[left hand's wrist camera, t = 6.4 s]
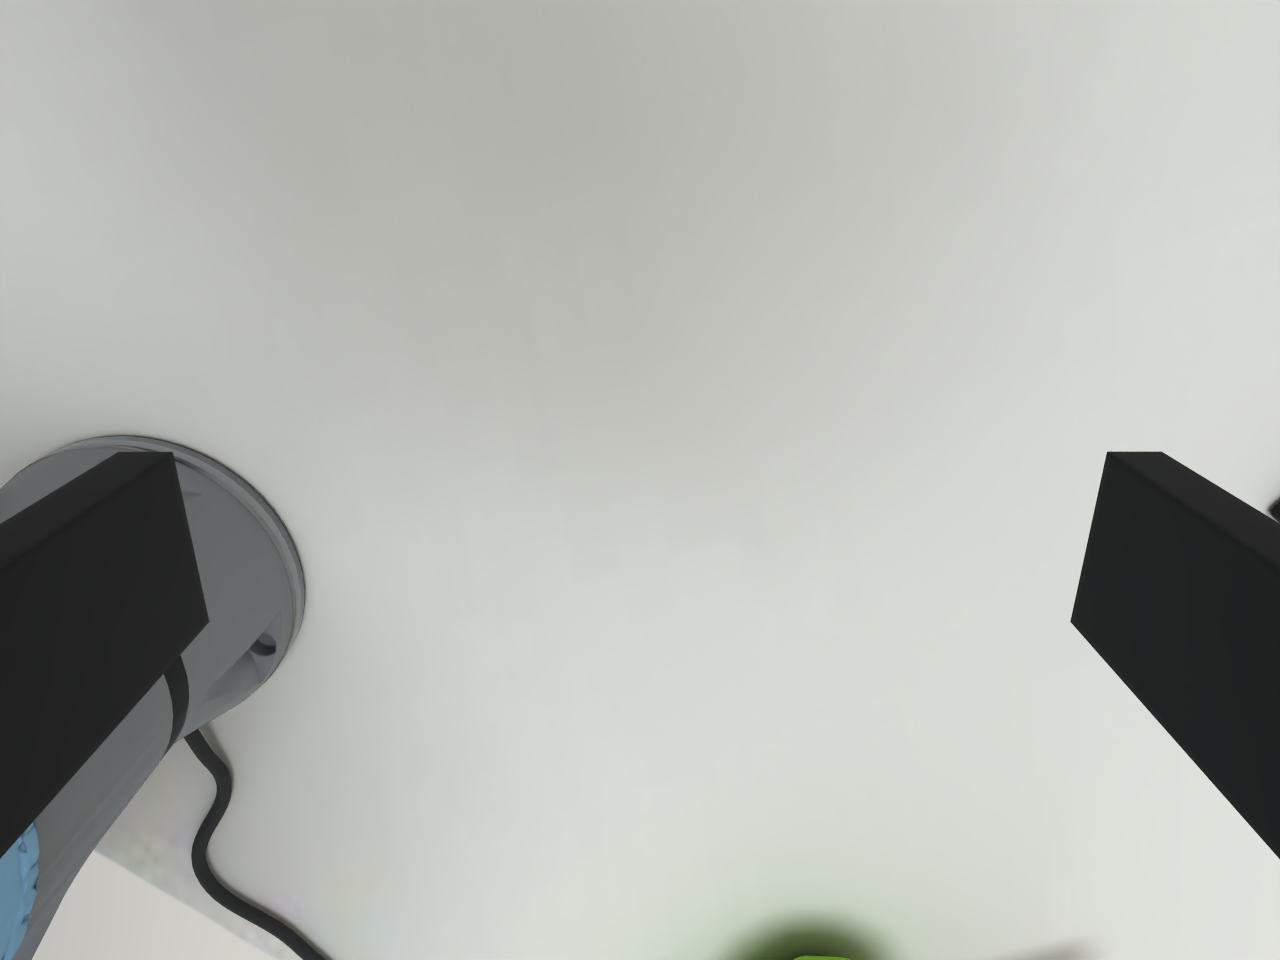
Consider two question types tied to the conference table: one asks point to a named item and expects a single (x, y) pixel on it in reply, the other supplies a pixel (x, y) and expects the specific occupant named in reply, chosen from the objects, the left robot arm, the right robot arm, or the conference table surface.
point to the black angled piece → (1276, 512)
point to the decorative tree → (819, 958)
